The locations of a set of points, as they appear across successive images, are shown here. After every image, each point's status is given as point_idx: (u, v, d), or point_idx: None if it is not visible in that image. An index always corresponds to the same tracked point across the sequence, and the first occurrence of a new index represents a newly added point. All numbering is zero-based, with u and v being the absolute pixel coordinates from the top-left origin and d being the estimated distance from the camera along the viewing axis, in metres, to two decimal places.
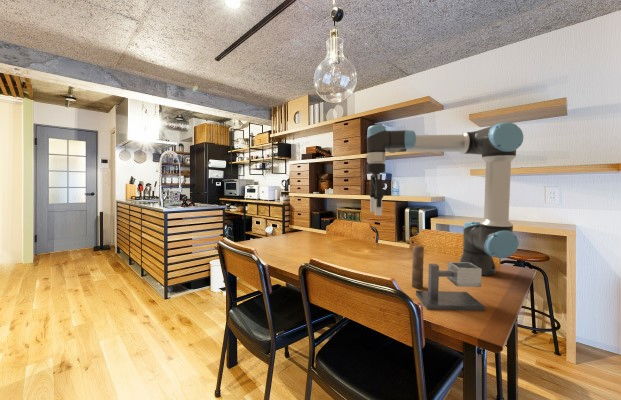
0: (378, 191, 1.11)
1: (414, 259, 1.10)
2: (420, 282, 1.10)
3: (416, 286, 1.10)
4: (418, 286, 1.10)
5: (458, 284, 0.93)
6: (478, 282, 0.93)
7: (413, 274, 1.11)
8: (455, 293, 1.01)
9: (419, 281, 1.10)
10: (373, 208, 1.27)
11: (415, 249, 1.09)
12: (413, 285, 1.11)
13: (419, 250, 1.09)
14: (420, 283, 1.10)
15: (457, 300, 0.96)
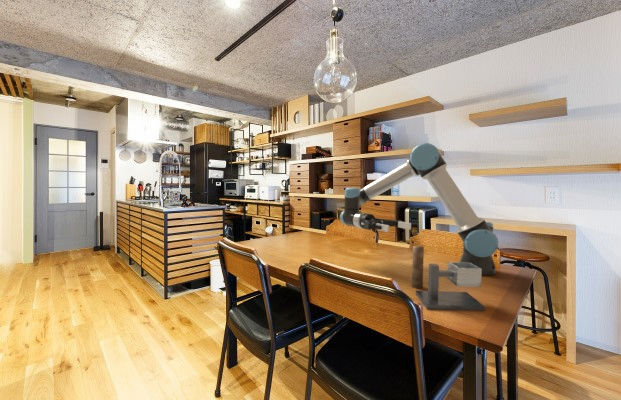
0: (367, 226, 1.21)
1: (414, 259, 1.10)
2: (420, 282, 1.10)
3: (416, 286, 1.10)
4: (418, 286, 1.10)
5: (458, 284, 0.93)
6: (478, 282, 0.93)
7: (413, 274, 1.11)
8: (455, 293, 1.01)
9: (419, 281, 1.10)
10: (407, 225, 1.23)
11: (415, 249, 1.09)
12: (413, 285, 1.11)
13: (419, 250, 1.09)
14: (420, 283, 1.10)
15: (457, 300, 0.96)
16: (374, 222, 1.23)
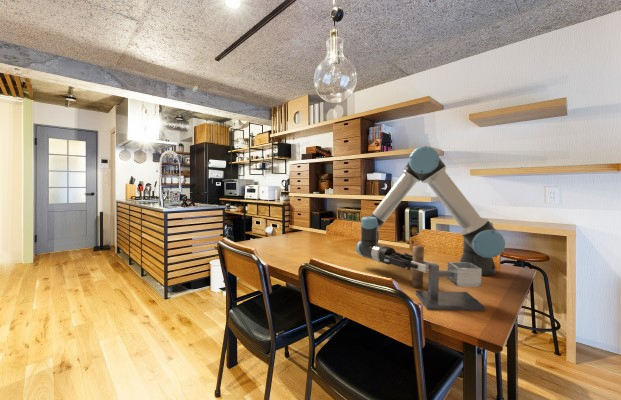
0: (399, 265, 1.12)
1: (414, 259, 1.10)
2: (420, 282, 1.10)
3: (416, 286, 1.10)
4: (418, 286, 1.10)
5: (458, 284, 0.93)
6: (478, 282, 0.93)
7: (413, 274, 1.11)
8: (455, 293, 1.01)
9: (419, 281, 1.09)
10: None
11: (415, 249, 1.09)
12: (413, 285, 1.11)
13: (419, 250, 1.09)
14: (420, 283, 1.10)
15: (457, 300, 0.96)
16: (403, 259, 1.14)
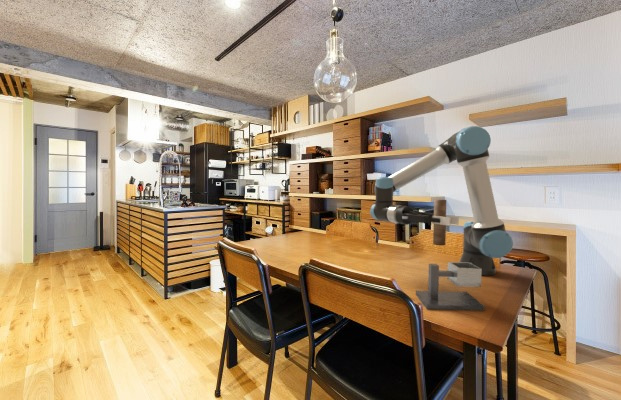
0: (419, 220, 1.02)
1: (436, 213, 1.00)
2: (442, 238, 1.00)
3: (438, 243, 1.00)
4: (441, 243, 1.00)
5: (458, 284, 0.93)
6: (478, 282, 0.93)
7: (435, 230, 1.01)
8: (455, 293, 1.01)
9: (441, 237, 1.00)
10: (453, 220, 0.99)
11: (437, 202, 1.00)
12: (435, 242, 1.01)
13: (441, 202, 0.99)
14: (442, 239, 1.00)
15: (457, 300, 0.96)
16: (424, 215, 1.05)
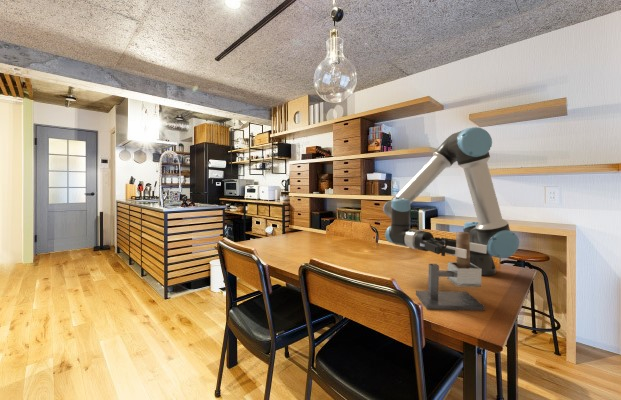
0: (433, 250, 0.96)
1: (459, 247, 0.95)
2: None
3: None
4: None
5: (458, 284, 0.93)
6: (478, 282, 0.93)
7: (458, 265, 0.96)
8: (455, 293, 1.01)
9: None
10: (480, 248, 0.97)
11: (460, 236, 0.94)
12: None
13: (464, 236, 0.94)
14: None
15: (457, 300, 0.96)
16: (440, 244, 0.98)
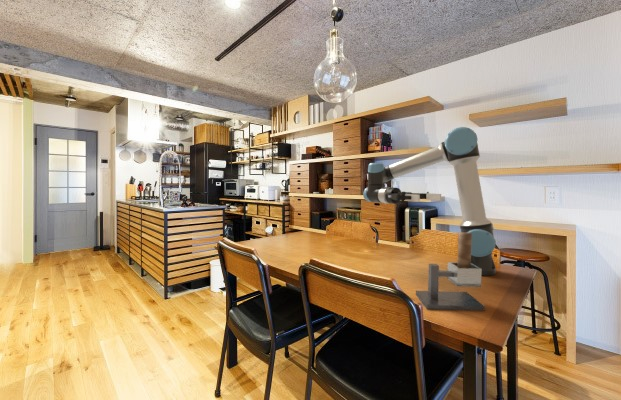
0: (395, 198, 1.18)
1: (460, 247, 0.95)
2: None
3: None
4: None
5: (458, 284, 0.93)
6: (478, 282, 0.93)
7: (459, 265, 0.96)
8: (455, 293, 1.01)
9: None
10: (436, 196, 1.19)
11: (462, 236, 0.94)
12: None
13: (466, 236, 0.94)
14: None
15: (457, 300, 0.96)
16: None
